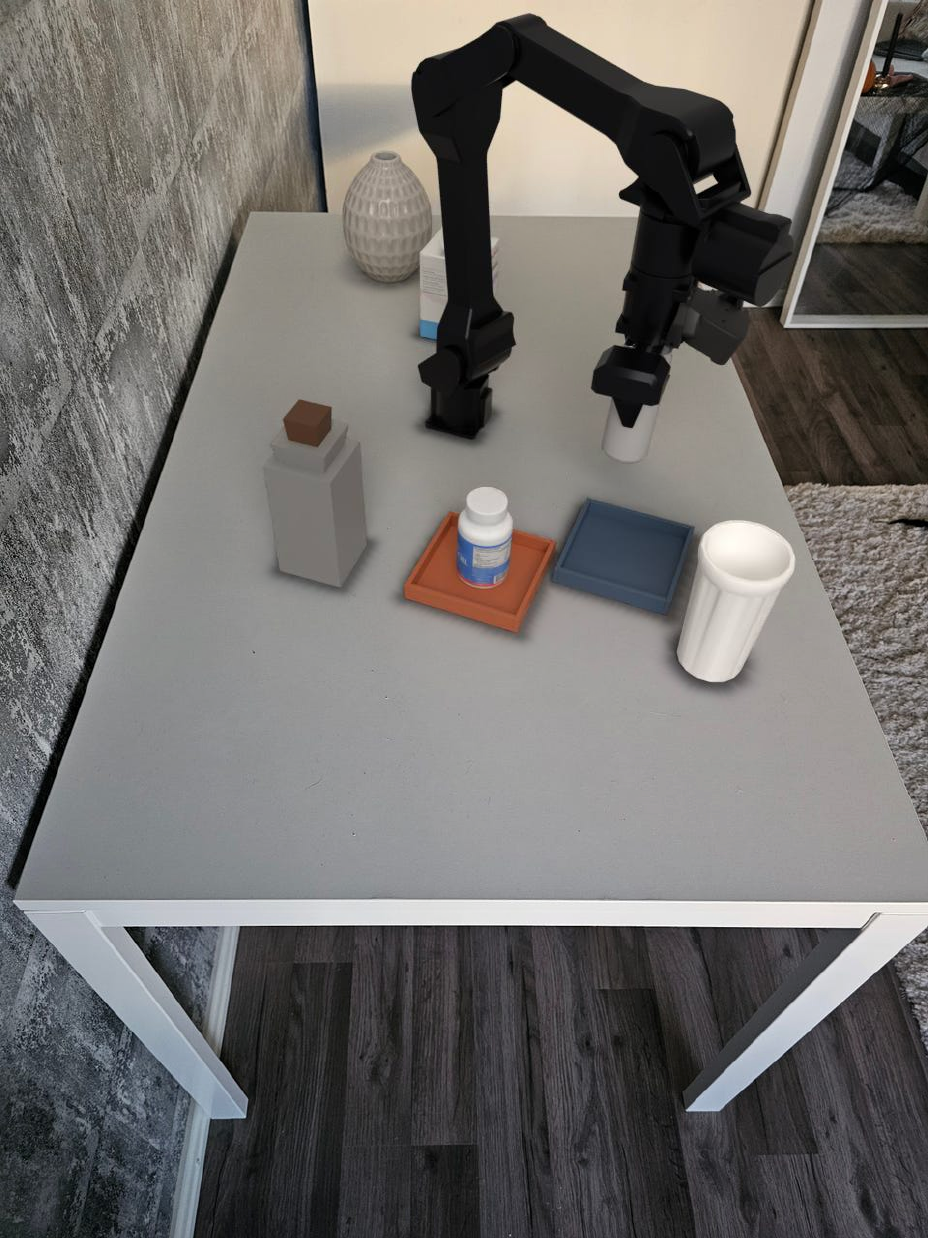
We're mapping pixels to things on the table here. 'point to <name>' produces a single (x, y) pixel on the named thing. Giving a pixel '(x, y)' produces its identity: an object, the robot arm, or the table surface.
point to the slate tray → (624, 555)
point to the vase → (387, 218)
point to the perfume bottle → (316, 495)
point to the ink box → (440, 282)
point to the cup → (732, 596)
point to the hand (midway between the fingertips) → (634, 412)
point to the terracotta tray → (494, 605)
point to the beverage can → (631, 430)
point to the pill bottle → (484, 538)
